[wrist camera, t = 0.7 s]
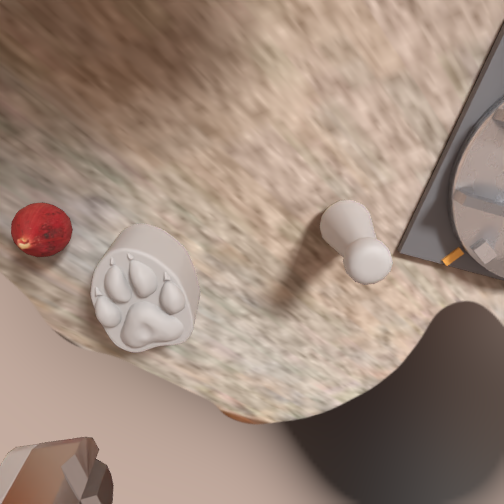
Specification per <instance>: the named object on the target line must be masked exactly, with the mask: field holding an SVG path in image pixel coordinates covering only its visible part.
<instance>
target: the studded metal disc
mask: <svg viewBox="0 0 504 504" xmlns="http://www.w3.org/2000/svg"><path fill="white" fill-rule="evenodd" d="M447 206H448V214H449V219H450V223H451V226H452V229H453V232H454V234H455V236H456V238H457V240H458V241H459V243H460V244H461V246H462V247H463V248H464V250H465V251H466V252H467V253H468V254H469V255H470V256H471V257H472V258H473V259H475V260H476V261H477V262H478V263H479V264H480V265H482V266H483V267H484V268H486V269H487V270H489V271H490V272H492V273H494V274H496V275H498V276H500V277H503V278H504V95H503V96H502V97H501V98H500V99H499V100H498V101H497V102H495V103H494V104H493V105H492V106H491V107H490V108H489V109H488V110H487V111H486V112H485V114H484V115H483V116H482V117H481V118H480V119H479V120H478V122H477V123H476V124H475V126H474V127H473V129H472V130H471V131H470V133H469V134H468V136H467V137H466V139H465V141H464V143H463V145H462V146H461V148H460V150H459V153H458V155H457V157H456V160H455V162H454V165H453V168H452V172H451V175H450V179H449V186H448V197H447Z"/></svg>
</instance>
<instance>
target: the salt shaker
mask: <svg viewBox="0 0 504 504" xmlns="http://www.w3.org/2000/svg"><path fill="white" fill-rule="evenodd" d="M320 230H321V234H322V237H323V239H324V240H325V241H326V242H327V243H328V244H329V245H330V246H331V247H333V248H334V249H335V250H336V251H337V252H338V253H339V254H340V255H341V256H342V257H343V263H344V267H345V270H346V273H347V274H348V275H349V276H350V277H351V278H352V279H353V280H354V281H355V282H358V283H361V284H364V285H367V284H375V283H377V282H379V281H381V280H383V279H384V278H385V277H386V276H387V274H388V273H389V272H390V270H391V267H392V263H393V262H392V257H391V253H390V250H389V249H388V248H387V247H386V246H385V245H384V243H383V242H382V241H381V240H378V239H377V238H376V234H375V231H374V227H373V223H372V219H371V215H370V212H369V211H368V210H367V209H366V208H365V206H364V205H363V204H361V203H359V202H356V201H353V200H341V201H337V202H336V203H334V204H332V205H330V206H329V207H328V208H327V209H326V211H325V212H324V213H323V215H322V217H321V222H320Z"/></svg>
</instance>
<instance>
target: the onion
mask: <svg viewBox="0 0 504 504" xmlns="http://www.w3.org/2000/svg"><path fill="white" fill-rule="evenodd" d="M72 231H73V229H72V226H71V222H70V218H69V217H68V216H67V215H66V214H65V212H64V211H63V210H61V209H59V208H57V207H56V206H54V205H51V204H47V203H34V204H30V205H28V206H26V207H24V208H22V209H21V210H19V211H18V212H17V213H16V215H15V217H14V219H13V221H12V224H11V235H12V237H13V240H14V243H15V244H16V245H17V246H18V247H19V248H20V249H21V250H22V251H24V252H25V253H26V254H28V255H32V256H36V257H47V256H51V255H54V254H56V253H58V252H60V251H61V250H63V249H64V247H65V246H66V245H67V244H68V243H69V241H70V239H71V235H72Z"/></svg>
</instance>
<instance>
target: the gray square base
mask: <svg viewBox="0 0 504 504" xmlns="http://www.w3.org/2000/svg"><path fill="white" fill-rule="evenodd" d="M503 95H504V24H503V26H502V28H501V30H500V32H499V34H498V36H497V39H496V41H495V43H494V45H493V47H492V49H491V51H490V53H489V56H488V58H487V60H486V62H485V64H484V66H483V68H482V70H481V73H480V75H479V77H478V79H477V81H476V83H475V85H474V87H473V90H472V92H471V94H470V96H469V98H468V100H467V102H466V104H465V106H464V109H463V111H462V113H461V115H460V117H459V119H458V121H457V123H456V126H455V128H454V130H453V132H452V134H451V136H450V138H449V140H448V143H447V145H446V147H445V149H444V151H443V153H442V155H441V157H440V160H439V162H438V164H437V166H436V168H435V170H434V172H433V174H432V177H431V179H430V181H429V183H428V185H427V187H426V189H425V191H424V193H423V196H422V198H421V200H420V202H419V204H418V206H417V208H416V210H415V213H414V215H413V217H412V219H411V221H410V223H409V225H408V227H407V230H406V232H405V234H404V236H403V238H402V240H401V242H400V244H399V247H398V249H397V250H398V251H399V252H400V253H402V254H406V255H409V256H413V257H417V258H421V259H425V260H428V261H432V262H436V263H440V264H443V265H446V266H451V267H455V268H458V269H462V270H466V271H470V272H473V273H477V274H481V275H485V276H489V277H492V278H496V279H500V280H504V278H503V277H500V276H498V275H496V274H494V273H492V272H490V271H489V270H487V269H486V268H484V267H483V266H482V265H480V264H479V263H478V262H477V261H476V260H475V259H473V258H472V257H471V256H470V255H469V254H468V253H467V252H466V251H465V250H464V248H463V247H462V246H461V244H460V243H459V241H458V240H457V238H456V236H455V234H454V232H453V229H452V226H451V223H450V219H449V214H448V206H447V197H448V186H449V179H450V175H451V172H452V168H453V165H454V162H455V160H456V157H457V155H458V153H459V150H460V148H461V146H462V145H463V143H464V141H465V139H466V137H467V136H468V134H469V133H470V131H471V130H472V129H473V127H474V126H475V124H476V123H477V122H478V120H479V119H480V118H481V117H482V116H483V115H484V114H485V112H486V111H487V110H488V109H489V108H490V107H491V106H492V105H493V104H494V103H495V102H497V101H498V100H499V99H500V98H501V97H502V96H503Z"/></svg>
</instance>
